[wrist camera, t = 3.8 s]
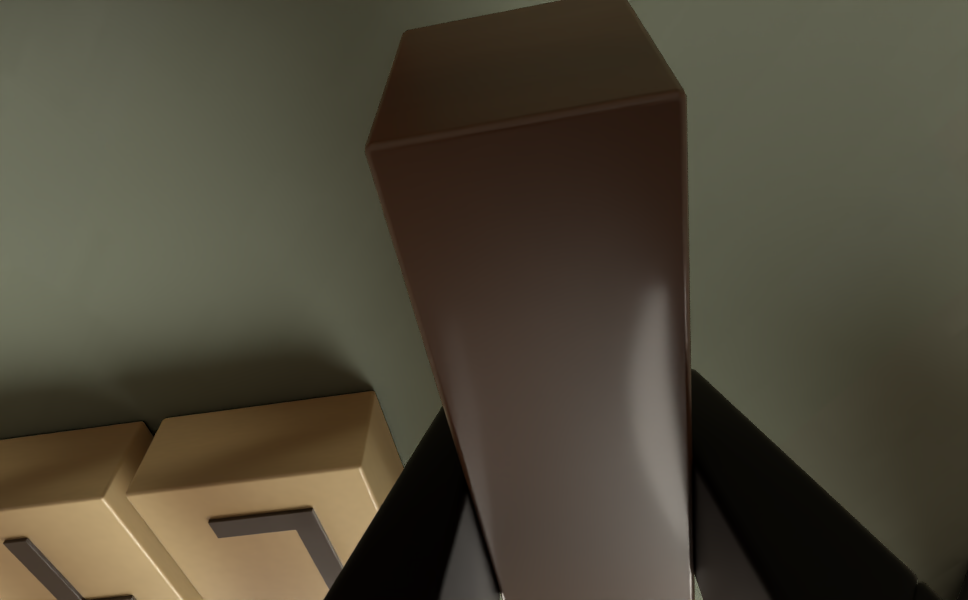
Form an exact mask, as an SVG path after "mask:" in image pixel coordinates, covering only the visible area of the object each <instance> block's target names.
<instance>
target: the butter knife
mask: <svg viewBox="0 0 968 600" xmlns="http://www.w3.org/2000/svg"><path fill="white" fill-rule="evenodd" d="M365 155H366V158H367V161H368V165H369V168H370V171H371V174H372V178H373V181H374V184H375V187H376V191H377V194H378V197H379V200H380V204H381V207H382V210H383V213H384V217H385V220H386V223H387V226H388V230H389V233H390V236H391V239H392V243H393V246H394V249H395V252H396V256H397V259H398V262H399V265H400V269H401V272H402V275H403V278H404V282H405V285H406V288H407V291H408V295H409V298H410V301H411V304H412V308H413V311H414V314H415V317H416V321H417V324H418V327H419V330H420V334H421V337H422V340H423V343H424V347H425V350H426V353H427V356H428V360H429V363H430V366H431V369H432V373H433V376H434V379H435V382H436V386H437V389H438V392H439V395H440V399H441V402H442V405H443V408H444V412H445V415H446V418H447V421H448V425H449V428H450V431H451V434H452V438H453V441H454V444H455V447H456V451H457V454H458V457H459V460H460V464H461V467H462V470H463V473H464V477H465V480H466V483H467V486H468V489H469V492H470V495H471V499H472V502H473V505H474V508H475V512H476V515H477V518H478V521H479V525H480V528H481V531H482V534H483V538H484V541H485V544H486V548H487V551H488V554H489V557H490V561H491V564H492V567H493V570H494V574H495V577H496V580H497V583H498V587H499V590H500V594H501V597H502V600H695V581H694V534H693V469H692V463H693V456H692V393H691V330H690V268H689V205H688V142H687V96H686V94H685V92H684V89H683V88H682V86H681V85H680V83H679V82H678V80H677V78H676V77H675V75H674V74H673V72H672V70H671V69H670V67H669V66H668V64H667V62H666V61H665V59H664V58H663V56H662V54H661V53H660V51H659V50H658V48H657V47H656V45H655V43H654V42H653V40H652V39H651V37H650V35H649V34H648V32H647V31H646V29H645V27H644V26H643V24H642V23H641V21H640V19H639V18H638V16H637V15H636V13H635V12H634V10H633V8H632V7H631V5H630V4H629V2H628V0H561V1H556V2H550V3H545V4H540V5H535V6H530V7H524V8H519V9H514V10H509V11H504V12H498V13H493V14H488V15H483V16H478V17H472V18H467V19H462V20H457V21H452V22H447V23H441V24H436V25H431V26H426V27H421V28H415V29H410V30H407V31H405V32H404V33H403V34H402V37H401V40H400V43H399V46H398V49H397V52H396V55H395V58H394V61H393V64H392V67H391V70H390V73H389V76H388V79H387V82H386V85H385V88H384V91H383V94H382V97H381V100H380V103H379V106H378V109H377V112H376V115H375V118H374V121H373V124H372V127H371V130H370V133H369V136H368V139H367V142H366V145H365Z"/></svg>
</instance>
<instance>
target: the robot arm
mask: <svg viewBox="0 0 968 600" xmlns="http://www.w3.org/2000/svg"><path fill="white" fill-rule="evenodd" d="M691 393H692V456H693V463H692V469H693V534H694V574H695V577H696V580H697V583H698V585H699V588H700V591H701V594H702V597H703V600H943V599H942V598H941V597H940V596H938V595H937V594H936V593H935V592H934V591H933V590H932V589H931V588H930V587H929V586H928V585H927V584H926V583H924V582H919V583H918V584H917V580H918V578H917V576H916V574H914V573H913V572H912V571H911V570H910V569H909V568H908V567H907V566H906V565H905V564H904V563H903V562H902V561H900V560H899V559H898V558H897V557H896V556H895V555H894V554H893V553H892V552H891V551H890V550H889V549H888V548H886V547H885V546H884V545H883V544H882V543H881V542H880V541H879V540H878V539H877V538H876V537H875V536H874V535H872V534H871V533H870V532H869V531H868V530H867V529H866V528H865V527H864V526H863V525H862V524H861V523H860V522H858V521H857V520H856V519H855V518H854V517H853V516H852V515H851V514H850V513H849V512H848V511H847V510H846V509H844V508H843V507H842V506H841V505H840V504H839V503H838V502H837V501H836V500H835V499H834V498H833V497H832V496H830V495H829V494H828V493H827V492H826V491H825V490H824V489H823V488H822V487H821V486H820V485H819V484H818V483H816V482H815V481H814V480H813V479H812V478H811V477H810V476H809V475H808V474H807V473H806V472H805V471H804V470H802V469H801V468H800V467H799V466H798V465H797V464H796V463H795V462H794V461H793V460H792V459H791V458H790V457H788V456H787V455H786V454H785V453H784V452H783V451H782V450H781V449H780V448H779V447H778V446H777V445H776V444H774V443H773V442H772V441H771V440H770V439H769V438H768V437H767V436H766V435H765V434H764V433H763V432H762V431H760V430H759V429H758V428H757V427H756V426H755V425H754V424H753V423H752V422H751V421H750V420H749V419H748V418H746V417H745V416H744V415H743V414H742V413H741V412H740V411H739V410H738V409H737V408H736V407H735V406H734V405H732V404H731V403H730V402H729V401H728V400H727V399H726V398H725V397H724V396H723V395H722V394H721V393H720V392H719V391H717V390H716V389H715V388H714V387H713V386H712V385H711V384H710V383H709V382H708V381H707V380H706V379H705V378H703V377H702V376H701V375H700V374H699V373H698V372H697V371H696V370H694V369H691ZM324 600H500V590H499V587H498V583H497V580H496V577H495V574H494V570H493V567H492V564H491V561H490V557H489V554H488V551H487V548H486V544H485V541H484V538H483V534H482V531H481V528H480V525H479V521H478V518H477V515H476V512H475V508H474V505H473V502H472V499H471V495H470V492H469V489H468V486H467V483H466V480H465V477H464V473H463V470H462V467H461V464H460V460H459V457H458V454H457V451H456V447H455V444H454V441H453V438H452V434H451V431H450V428H449V425H448V421H447V418H446V415H445V412H444V408H443V406H442V407H441V409H440V411H439V412H438V414H437V415H436V417H435V419H434V420H433V422H432V424H431V425H430V427H429V428H428V430H427V432H426V433H425V435H424V437H423V438H422V440H421V441H420V443H419V445H418V446H417V448H416V450H415V451H414V453H413V455H412V456H411V458H410V459H409V461H408V463H407V464H406V466H405V468H404V469H403V471H402V472H401V474H400V476H399V477H398V479H397V481H396V482H395V484H394V485H393V487H392V489H391V490H390V492H389V494H388V495H387V497H386V499H385V500H384V502H383V503H382V505H381V507H380V508H379V510H378V512H377V513H376V515H375V516H374V518H373V520H372V521H371V523H370V525H369V526H368V528H367V529H366V531H365V533H364V534H363V536H362V538H361V539H360V541H359V542H358V544H357V546H356V547H355V549H354V551H353V552H352V554H351V556H350V557H349V559H348V560H347V562H346V564H345V565H344V567H343V569H342V570H341V572H340V573H339V575H338V577H337V578H336V580H335V582H334V583H333V585H332V586H331V588H330V590H329V591H328V593H327V595H326V596H325V598H324ZM957 600H968V572H967V575H966V578H965V580H964V583H963V585H962V588H961V591H960V593H959V596H958V598H957Z"/></svg>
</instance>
